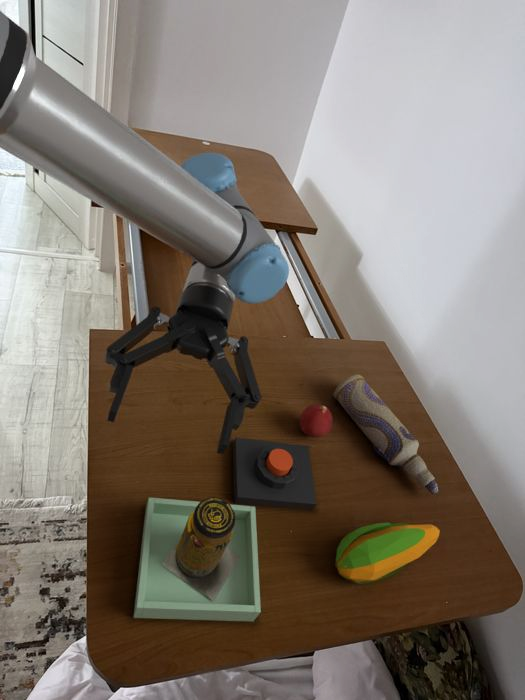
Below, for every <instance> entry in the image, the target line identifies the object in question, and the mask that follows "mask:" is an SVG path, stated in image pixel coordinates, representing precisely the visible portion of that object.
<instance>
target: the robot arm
mask: <svg viewBox="0 0 525 700" xmlns="http://www.w3.org/2000/svg"><path fill="white" fill-rule="evenodd" d="M0 149H1V150H3V151H5V152H7V153H9V154H10V155H11V156H14V157H16V158H17V159H19V160H21V161H22V162H24V163H25V164H28V165H29V166H31V167H33V168H34V169H36V170H38V171H40V172H41V173H43V174H44V175H47V176H48V177H50V178H52V179H53V180H55V181H57V182H58V183H60V184H62V185H64V186H66V187H67V188H69V189H71V190H73V191H74V192H76V193H77V194H79V195H80V196H83V197H85V198H86V199H88V200H89V201H91V202H93V203H95V204H97V205H98V206H100V207H101V208H104V209H105V210H107V211H109V212H110V213H112V214H114V215H116V216H117V217H119V218H121V219H122V220H124V221H126V222H127V223H129V224H130V225H133V226H135V227H136V228H138V229H140V230H142V231H143V232H145V233H146V234H148V235H150V236H152V237H154V238H155V239H157V240H159V241H160V242H162V243H164V244H166V245H167V246H169V247H171V248H173V249H174V250H176V251H178V252H179V253H181V254H183V255H185V256H187V257H188V258H189V259H192V262H191V265H190V268H189V271H188V273H187V277H186V280H185V283H184V286H183V289H182V292H181V295H180V297H179V301H178V303H177V307H176V309H175V311H174V313H173V315H172V316H169V315H167V314H164V313H163V312H161V311H162V310H161V308H160V307H159V306H152V307H151V309H150V310H149V312H148V314H147V316H146V317H145V318H144V319H143V320H141V321H140V322H138V323H137V324H136V325H135V326H133V327H131V329H129V330H128V331H127V332H126V333H125V334H123V335H122V336H120V337H119V338H118V339H116V340H115V341H114V342H112V343H111V344H110V345H109V346H107V347H106V350H105V357H104V362H105V363H106V364H107V365H112V367H114V368H115V369H114V371H113V374H112V376H111V379H110V382H109V386H108V391H109V392H110V393H113V394H115V396H114V398H113V401H112V403H111V405H110V408H109V412H108V417H107V421H108V422H111V423H115V420H116V417H117V415H118V413H119V409H120V407H121V405H122V401H123V398H124V396H125V393H126V391H127V387H128V385H129V383H130V380H131V376H132V373H133V369H135V368H137V367H139V366H141V365H143V364H145V363H147V362H149V361H151V360H153V359H155V358H157V357H159V356H161V355H163V354H169V353H170V352H173V351H175V350H177V351H178V353H179V354H180V355H186V356H190V357H193V358H194V359H197V360H200V361H202V360H206V362H207V364H208V365H209V367H210V368H211V369H213V371H214V372H215V374H216V377H217V378H218V380H219V382H220V384H221V385H222V387H223V389H224V391H225V393H226V395H227V396H228V399H229V400H230V402H229V403H228V405H227V407H226V410H225V414H224V418H223V419H224V420H223V424H222V428H221V432H220V437H219V441H218V446H217V451H216V453H217V454H220V455H224V453H225V452H226V450H228V448H229V446H230V443H231V437H232V433H233V430H234V431H237V430H239V428H240V427H241V425H242V424H243V421H244V416H245V415H244V414H245V409H247V408H249V410H254V409H255V408H256V407H257V406H258V404H259V403H260V402H261V401H262V398H263V397H262V394H261V391H260V387H259V384H258V381H257V377H256V374H255V371H254V368H253V365H252V360H251V358H250V355H249V351H248V347H249V339H248V338H247V337H246V336H241V337H239V338H235V337H230V336H229V334H228V328H229V326H230V325H229V324H230V321H231V317H232V312H233V307H234V304H235V300H236V298H237V300H239V301H240V302H242V303H245V304H259V303H263V302H266V301H268V300H270V299H272V298H273V297H275V296H276V295H277V293H279V292H280V290H282V289H283V288H284V286H285V285H286V283H287V281H288V278H289V275H290V268H289V267H290V266H289V264H288V261H287V259H286V257H285V256H284V254H283V252H282V250H281V247H280V246H279V245H278V244H277V243H276V242H275V241H274V239H273V238H272V237H271V236H270V234H269V233H268V231H267V230H266V229H265V227H264V226H263V224H262V223H261V222H260V221H259V219H258V217H257V216H256V215H255V213H254V212H253V210H252V208H251V207H250V206H249V205H248V203H247V201H246V200H245V198H244V197H243V196H242V194H241V193H240V192H239V189H238V186H237V181H238V177H237V176H236V173H235V167H234V164H233V162H232V160H230V158H229V157H227V156H226V155H223V154H221V153H217V152H202V153H200V154H196V155H193V156H190V157H188V158H187V159H185V160H184V162H183V163H182V164H181V166H180V165H179V164H178V163H176V162H175V161H174V160H173V159H172V158H170V157H169V156H167V155H166V154H165V153H163V152H162V151H161V150H160V149H158V148H157V147H155V145H153V144H152V143H150V142H149V141H148V140H146V139H145V138H144V137H143V136H141V135H140V134H138V133H137V132H136V131H134V130H133V129H132V128H131V127H130V126H128V125H127V124H126V123H124V122H123V121H121V120H120V119H119V118H118V117H116V116H115V115H114V114H112V113H111V112H109V111H108V110H107V109H106V108H105V107H103V106H102V105H101V104H99V103H98V102H97V101H95V100H94V99H92V98H91V97H90V96H89V95H88V94H86V93H85V92H84V91H82V90H81V89H79V88H78V87H77V86H75V85H74V84H73V83H72V82H70V80H68V79H66V77H63V75H62V74H60V73H58V72H57V70H55V69H53V68H52V67H51V66H50V65H48V64H47V63H45V62H44V61H43V60H42V59H40V58H39V57H38V56H37V55H36V54H35V51H34V46H33V43H32V39H31V36H30V34H29V33H28V32H27V31H26V30H25V29H24V28H22V27H21V26H19V24H17V23H16V22H15V21H14V20H12V19H11V18H10V17H8V16H7V15H6V14H5V13H4V12H3V11H1V10H0ZM164 326H165V327H166V329H167V332H165V333H164V335H162V336H160V337H157V338H156V339H153V340H152V341H150V342H147V343H145V344H143V345H141V346H139V347H136V346H137V345H138V344H139V343H140V342H141V341H143V340H144V339H145V338H147V337H148V336H149V335H150V334H151V333H152V332H153V331H154V330H159V329H160V328H162V327H164ZM134 347H135V349H133V348H134ZM225 347H227V348H228V349H229V351H230V355H231V356H233V361H234V365H235V368H236V369H235V370H236V372H237V374H236V372H235V371H234V369H233V367H232V365H231V364H230V362H229V360H228V359H227V357H226V352H225V349H224V348H225ZM131 349H132V350H131ZM237 375H238V376H237Z"/></svg>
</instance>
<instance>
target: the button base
mask: <svg viewBox="0 0 525 700" xmlns="http://www.w3.org/2000/svg"><path fill="white" fill-rule="evenodd" d="M274 449H283V450H285V451H287V452H288V453H289V454H290V455H291V457H292V459H293V464H292V467H291V468H290V470H289V472H288V473H287V474H286V475H284V476H276V475H274V474H272V473H271V472H270V471H269V470H268V469H267V466H266V460H267V458H268V456H269V454H270V452H271V451H272V450H274ZM232 464H233V465H232V466H233V467H232V468H233V470H232V471H233V504H234V505H245V506H258V507H268V508H269V507H270V508H281V509H292V510H293V509H294V510H303V511H313V510H314V509H315V507H316V506H317V504H318V502H317V495H316V489H315V483H314V476H313V469H312V461H311V455H310V448H309V446H308V445H304V444H303V445H301V444H293V443H285V442H277V441H269V440H262V439H253V438H244V437H243V438H242V437H235V438H234V441H233V443H232Z"/></svg>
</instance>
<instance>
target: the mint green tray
mask: <svg viewBox="0 0 525 700" xmlns="http://www.w3.org/2000/svg"><path fill="white" fill-rule="evenodd" d="M147 499H148V500H147V502H146V507H145V512H144V519H143V528H142V537H141V538H142V539H141V545H140V547H141V549H140V556H139V565H138V572H137V573H138V575H137V581H136V582H137V583H136V592H135V600H134V607H133V608H134V609H133V619H155V620H156V619H157V620H159V619H160V620H188V621H189V620H190V621H191V620H193V621H221V622H222V621H223V622H225V621H226V622H252V623H253V622H254V621H255V620H256V619H257V617H258V616H259V615H260V613H262V611H261V591H260V590H261V589H260V574H259V573H260V572H259V571H260V570H259V569H260V568H259V552H258V533H257V515H256V514H257V513H256V512H257V511H256V506H254V505H243V504H230V505H231V507H232V509H233V511H234V512H235V525H234V527H233V534H232V537H231V540H230V542H229V544H228V545H227V548H229V549H230V550H231V551H233V552H235V553H236V554H237V555H239V556H240V558H239V560H238V561H237V563H236V565H235V567H234V568H233V570H232V572H231V573H230V575H229V577H228V578H227V580H226V582H225V583H224V585H223V587H222V588H221V590H220V592H219V593H218V595H217V597H216V598H215V600H214V601H213V600H211V599H210V598H209V597H207V596H206V595H204V594H203V593H201V592H200V591H198V590H197V589H195V588H194V587H193V586H191V585H190V584H188V583H187V582H185V581H184V580H182V579H181V578H179V577H178V576H177V575H175V574H174V573H172V572H171V571H170V570H168V569H167V568H165V567H164V566H163V565H161V564H162V563H163V562H164V560H165V559H166V557H167V556H168V555H169V553H170V552H171V551H172V549H173V548H174V547H175V545H176V544H177V542H178V541H179V540H180V538H181V536H182V534H183V532H184V529H185V526H186V523H187V520H188V518H189V516H190V515H191V513H192V512H193V511H194V510H195V508H196V506H197V505H198V504H199V503H200V502H201V501H195V500H194V501H193V500H183V499H172V498H159V497H148V498H147Z"/></svg>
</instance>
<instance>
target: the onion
mask: <svg viewBox="0 0 525 700" xmlns="http://www.w3.org/2000/svg"><path fill="white" fill-rule="evenodd" d="M299 416H300V417H299V425H300V429H301V431H302V432H303V433H304V434H306V436H308V437H310V438H322V437H325V436H326V435H328V434H329V432H330V431H331V429H332V427H333V421H334V419H333V415H332V412H331V411H330V409H329V408H328V407H327V406H325V405H324V404H320V403H317V404H311V405H309V406H307V407H305V408H304V409H303V410H302V412H301V413H300V415H299Z"/></svg>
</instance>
